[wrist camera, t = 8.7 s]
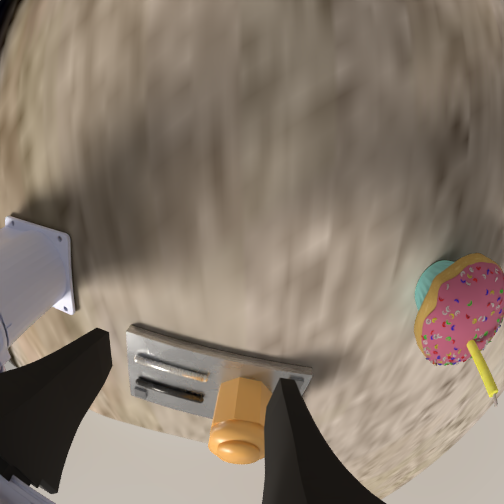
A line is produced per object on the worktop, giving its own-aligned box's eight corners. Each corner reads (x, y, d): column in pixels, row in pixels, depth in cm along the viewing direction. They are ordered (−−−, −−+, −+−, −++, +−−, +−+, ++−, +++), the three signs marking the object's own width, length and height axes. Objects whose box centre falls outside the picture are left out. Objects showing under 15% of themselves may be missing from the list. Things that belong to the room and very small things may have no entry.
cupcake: (425, 342, 21) (482, 439, 10) (373, 297, 20) (442, 420, 8) (484, 273, 18) (566, 345, 7) (444, 212, 17) (562, 279, 6)
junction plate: (134, 388, 25) (121, 415, 21) (130, 324, 22) (111, 353, 18) (281, 423, 25) (281, 453, 22) (311, 367, 22) (317, 401, 18)
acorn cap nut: (215, 403, 23) (203, 461, 17) (223, 373, 22) (211, 437, 15) (262, 413, 23) (259, 470, 17) (276, 384, 22) (277, 447, 16)
